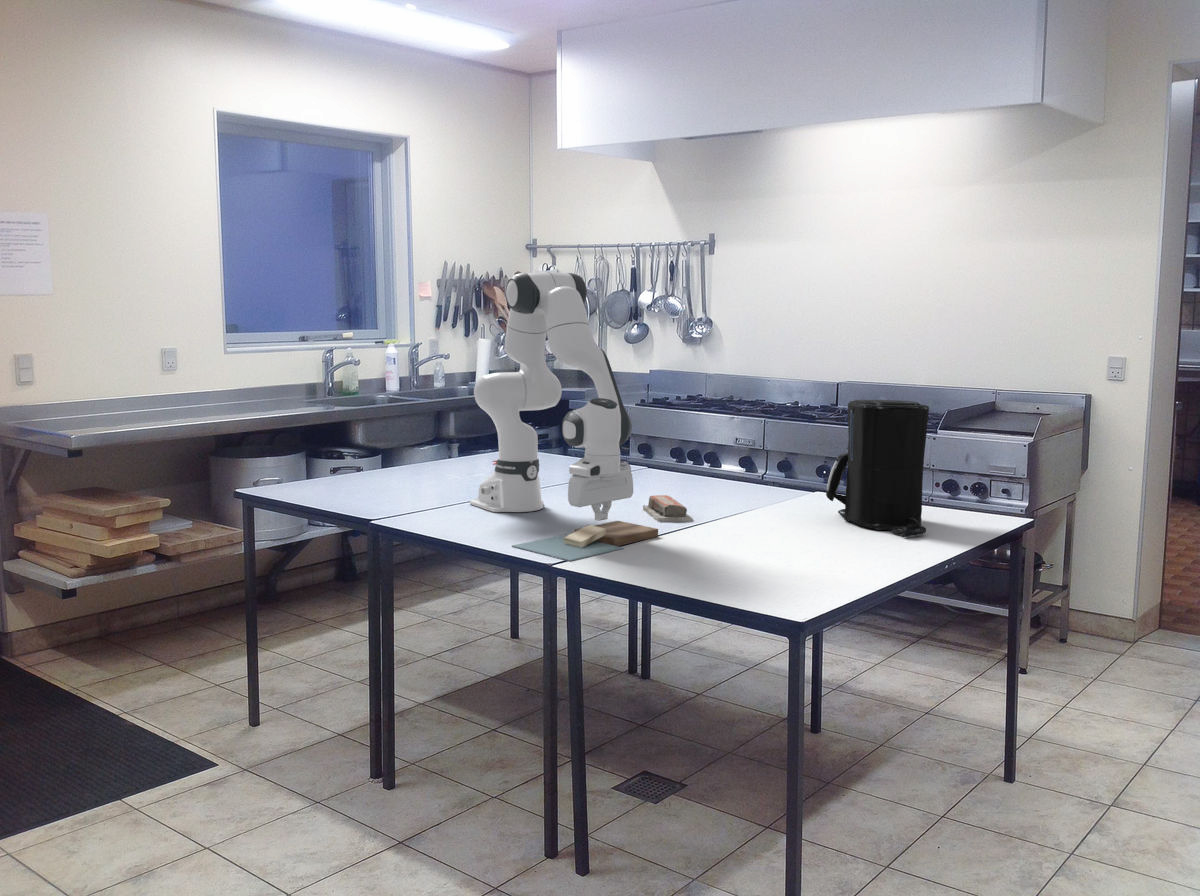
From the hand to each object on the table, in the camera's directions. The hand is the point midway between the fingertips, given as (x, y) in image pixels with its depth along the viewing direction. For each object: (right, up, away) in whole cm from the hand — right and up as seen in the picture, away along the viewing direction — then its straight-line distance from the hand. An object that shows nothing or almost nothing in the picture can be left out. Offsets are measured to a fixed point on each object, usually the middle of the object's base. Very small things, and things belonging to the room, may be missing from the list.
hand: (601, 519), depth 258 cm
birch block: (-4, -4, -4) cm, 7 cm away
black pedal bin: (+74, -3, +24) cm, 78 cm away
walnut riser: (+4, -5, +4) cm, 7 cm away
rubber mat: (-8, -6, -8) cm, 13 cm away
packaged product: (+18, -2, +33) cm, 38 cm away
